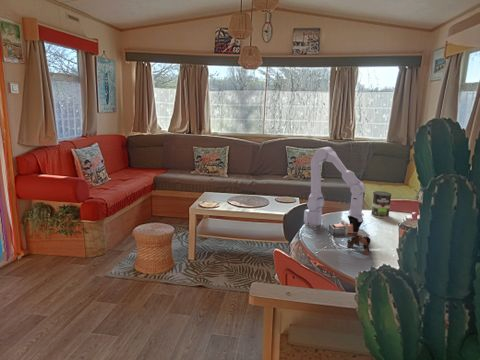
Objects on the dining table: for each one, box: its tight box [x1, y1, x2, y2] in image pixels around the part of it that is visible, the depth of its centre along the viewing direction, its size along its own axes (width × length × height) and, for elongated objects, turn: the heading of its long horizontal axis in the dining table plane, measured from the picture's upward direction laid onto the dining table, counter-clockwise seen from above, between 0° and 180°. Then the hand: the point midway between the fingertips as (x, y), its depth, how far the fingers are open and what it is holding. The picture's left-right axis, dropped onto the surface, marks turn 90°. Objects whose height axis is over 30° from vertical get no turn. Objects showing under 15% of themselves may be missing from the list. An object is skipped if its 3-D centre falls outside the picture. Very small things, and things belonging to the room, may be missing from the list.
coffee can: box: [370, 190, 392, 219], centre depth 216 cm, size 10×10×14 cm
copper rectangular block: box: [333, 223, 358, 233], centre depth 184 cm, size 12×4×4 cm, turn 93°
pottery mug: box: [346, 235, 371, 256], centre depth 165 cm, size 12×9×8 cm
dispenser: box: [327, 218, 370, 237], centre depth 184 cm, size 19×10×7 cm, turn 93°
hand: (354, 230), depth 185 cm, fingers closed on copper rectangular block, 3 cm apart
